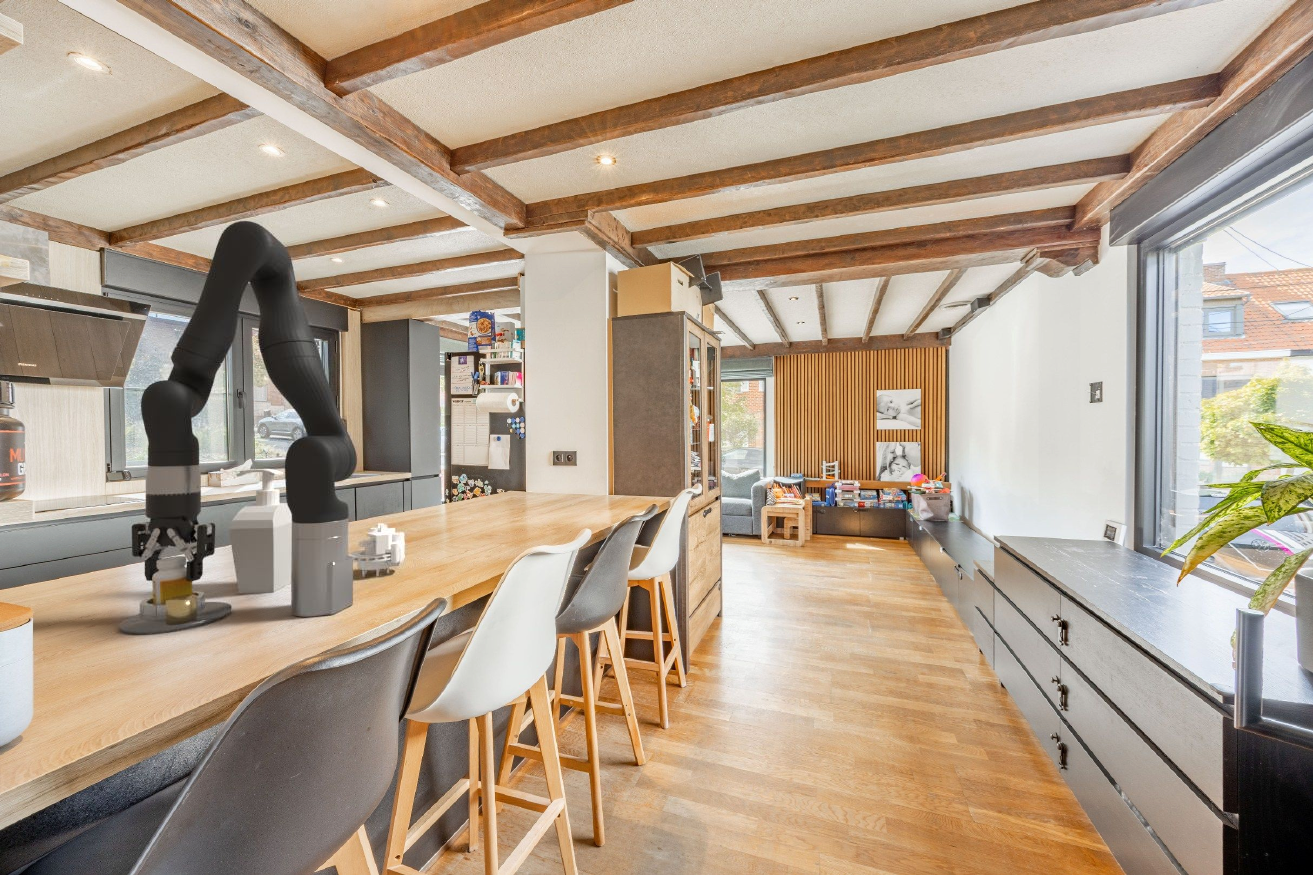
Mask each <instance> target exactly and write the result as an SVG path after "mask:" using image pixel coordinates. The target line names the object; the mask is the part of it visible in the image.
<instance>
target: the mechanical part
mask: <svg viewBox="0 0 1313 875" xmlns="http://www.w3.org/2000/svg"><path fill="white" fill-rule="evenodd" d="M366 537H368V539H366V540H365V539H364V540H363V539H362V540H361V541H359V542H358V547H363V548H362V549H356V550H354V551H351V552H348V556H352V557H353V563H357V565H356V566H357V569H358V570H360V571H361V570H362V572H361V574H362V577H365V576H366V574H367V573H368V571H376V573H375V574H376V575H375V577H376V578H378V577H379V576H380V572H382V571H383V570H382V569H385V570H386V574H390V568H392V567H400V566H401V565H402V564H403V562H404V561H405V558H406V541H405V533H404V532H400V531H399V532H396V528H395V527H388V524H385V523H384V522H381V523H380V522H379V523H376V527H371V528H369V530H368V531H367V532H366ZM369 538H370V539H369Z"/></svg>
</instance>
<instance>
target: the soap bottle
mask: <svg viewBox="0 0 1313 875" xmlns="http://www.w3.org/2000/svg"><path fill="white" fill-rule="evenodd" d="M251 473H262V476H261V478H262V479H261V481H262V482H261V484H262V488H261V489H257V490H255V498H256V499H255V501H256V502H255V503H253V504H249V505H245V506H244V507H242V508H241V509H240V510H239V511H238V512H237V514H236V515H235V516H234V517H233V518H232V520H231V522H230V525H229V527H228V533H229V540H230V545H231V551H232V557H233V558H232V559H233V564H234V565H233V566H234V570H235V576H236V582H237V590H238V594H265V593H266V594H267V593H269V594H272V593H276V592H277V591H279V590H282V589H283V588H284V587H286V586H289V585H290V584H291V553H292V514H291V511H290V509H289V507H288V505H287V502H280V489H278V488H277V489H275V487H274V486H275V484H274V483H275V482H274V478H275V477H278V476H283V475H284V472H283V471H280V470H279V469H278V470H277V469H272V468H257V469H256V468H254V469H247V470H243V471H240V472H239V473H237V474H235V475H236V477H238V478H239V477H243V476H245V475H247V474H251Z"/></svg>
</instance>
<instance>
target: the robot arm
mask: <svg viewBox="0 0 1313 875" xmlns="http://www.w3.org/2000/svg"><path fill="white" fill-rule="evenodd" d="M248 284H250V285H251V288H252V291H253V293H254V296H255V298H256V302H257V305H258V310H259V324H258V325H259V326H258V335H257V338H258V340H257V341H258V347H259V352H260V354H261V358H262V360H263V364H264V366H265V370H266V373H267V375H268V378H269V380H270V381H271V382H272V384H273V385H274V387H275V388H276V389H277V391H278V392H279V393H280V394H281V396H282V397H283V398H284V399H285V400H286V401H287V403H288V404H289V405H290V406H291V407H292V408H293V409H294V411H295V412H296V413H297V415H298V416H299V418H300V420H301V422H302V424H303V427H304V429H305V433H306V436H303V437H299V438H297V439H296V440H294V441H293V442H292V443H291V444H290V445H289V447H288V449H287V451H286V455H285V460H284V478H285V497H286V503H287V505H288V507H289V509H290V511H291V514H292V553H291V583H290V584H291V585H290V593H291V594H290V595H291V596H290V597H291V599H290V600H291V604H290V613H291V614H292V615H293V616H296V617H305V618H306V617H318V616H323V615H334V614H336V613H338V612H341V611H342V610H345V609H346V608H348V607H350V606H352V605H353V604H354V562H353V557H352V556H349V512H350V511H349V510H350V509H349V506H348V503H346V502H344V501H342V500H340V499H339V498H338V497H337V495H336V489H335V487H336V486H335V484H336V483H339V482H344V481H346V480H348V479H349V478H351V477H352V475H353V474H354V473H355V470H356V468H357V463H358V458H357V457H358V456H357V451H356V447H355V445H354V443H353V441H352V439H351V436H350V434H349V432H348V430H347V428H346V425H345V424H344V422H343V419H342V417H341V415H340V413H339V410H338V407H337V404H336V402H335V398H334V395H333V393H332V390H331V387H330V384H329V381H328V378H327V375H326V372H325V368H324V365H323V361H322V358H321V356H320V352H319V349H318V346H317V342H316V340H315V337H314V334H313V332H312V328H311V326H310V323H309V320H308V318H307V316H306V313H305V311H304V308H303V306H302V303H301V300H300V295H299V292H298V288H297V281H296V276H295V271H294V266H293V262H292V257H291V255H290V252H289V250H288V249H287V248H286V246H285V245H284V244H283V243H282V242H281V241H280V240H279V239H278V238H277V237H276V236H275V235H274V234H272V233H271V232H270V231H269V230H268V229H267V228H266V227H264V226H263V225H261V224H259V223H256V222H253V221H249V220H240V221H239V220H238V221H235V222H233V223H231V224H229V225H228V226H227V227H226V228H225V229H224V230H223V232H222V233H221V234H220V237H219V239H218V241H217V244H216V247H215V251H214V254H213V257H212V261H211V264H210V268H209V269H208V272H207V275H206V278H205V283H204V285H203V288H202V291H201V294H200V296H199V298H198V302H197V304H196V307H195V309H194V312H193V314H192V315H191V318H190V319H189V321H188V323H187V325H186V327H185V329H184V330H183V332H182V334H181V336H180V338H179V340H178V341H177V343H176V345H175V347H174V349H173V351H172V353H171V356H170V360H171V363H172V364H173V366H172V368H171V371H170V374H169V376H168V378H167V379H166V380H165V379H163V380H158V381H155V382H153V383H151V384H149V385H148V386H147V387H146V388H145V389H144V391H143V392H142V395H141V399H140V413H141V417H142V422H143V426H144V431H145V434H146V437H147V442H148V444H147V471H146V477H145V517H146V518H148V519H149V521H147V522H145V521H144V522H139V523H135V524H134V523H133V524H132V525H131V549H132V550H131V552H132V553H131V555H132V557H139V558H141V560H143V561H144V577H145V580H146V581H148V582H149V581H150V582H151V581H152V577H153V575H154V574H155V573H156V572H158V571H159V569H157V560H160V559H162V558H160V557H161V556H162V554H163V553H164V551H165V549H167V548H168V547H169V546H170V547H175V548H177V550H178V551H179V552H181V553H183V554H184V555H183V556H185V557H186V567H187V575H186V580H187V581H191V582H192V583H193V582H195V581H198V580H200V579H201V578H202V577H203V573H204V572H203V570H204V569H203V566H204V564H203V563H204V562H203V560H204V558H206V557H209V556H213V555H214V554H215V551H216V549H215V548H216V524H215V523H214V522H209V523H199V521H198V516H199V515H200V514H201V510H202V493H201V492H202V476H201V471H200V443H199V439H198V437H197V436H196V435H195V434H194V433H193V432H194V431H193V424H192V423H193V421H192V418H195V417H197V416H198V415H199V414H200V413H201V412H202V411H203V409H204V408H205V406H206V404H207V402H208V401H209V398H210V395H211V392H212V389H213V386H214V382H215V378H216V375H217V372H218V371H219V369H220V368H221V366H222V364H223V363H224V361H225V358H226V356H227V355H228V353H229V351H230V349H231V347H232V345H233V342H234V341H235V337H236V333H237V329H238V320H239V310H240V307H241V306H240V305H241V301H242V299H243V295H244V292H245V290H246V288H247V285H248ZM141 545H142V547H141Z"/></svg>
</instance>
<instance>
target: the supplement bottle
mask: <svg viewBox="0 0 1313 875" xmlns="http://www.w3.org/2000/svg"><path fill="white" fill-rule="evenodd" d="M157 569H159V571H158V572H156V573H155V574H154V575H153V577H152V582H151V583H152V597H153V603H154V604H166V600H167V599H169V598H172V597H176V596H182V595H193V589H194V587H193V581H192V582H191V581H187V580H186V575H187V558H186V556H185V555H177V556H169V557H168V556H167V557H164V558H163V557H162V558H161V559H160V560H157Z"/></svg>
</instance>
